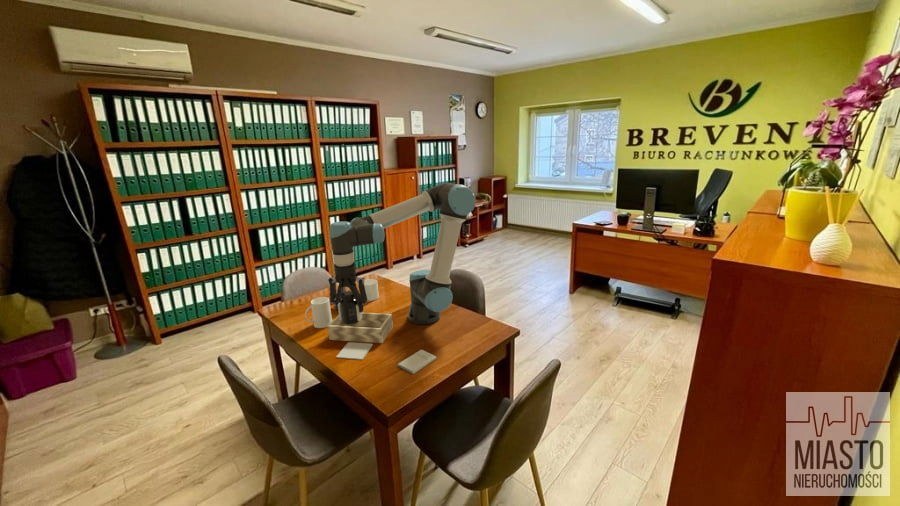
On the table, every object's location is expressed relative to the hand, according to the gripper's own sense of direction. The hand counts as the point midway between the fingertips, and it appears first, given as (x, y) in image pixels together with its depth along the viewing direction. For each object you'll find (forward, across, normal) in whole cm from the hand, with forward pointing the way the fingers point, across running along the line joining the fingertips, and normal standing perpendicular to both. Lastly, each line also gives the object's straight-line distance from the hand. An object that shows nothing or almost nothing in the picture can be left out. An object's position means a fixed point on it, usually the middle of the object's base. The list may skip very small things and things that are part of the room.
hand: (351, 318), depth 141 cm
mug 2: (+15, +15, -52) cm, 56 cm away
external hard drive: (+15, -27, +4) cm, 31 cm away
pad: (+15, 0, 0) cm, 15 cm away
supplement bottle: (+1, 0, 0) cm, 1 cm away
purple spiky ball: (+15, +24, -37) cm, 47 cm away
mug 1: (+15, +26, -19) cm, 35 cm away
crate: (+14, +3, -14) cm, 20 cm away
